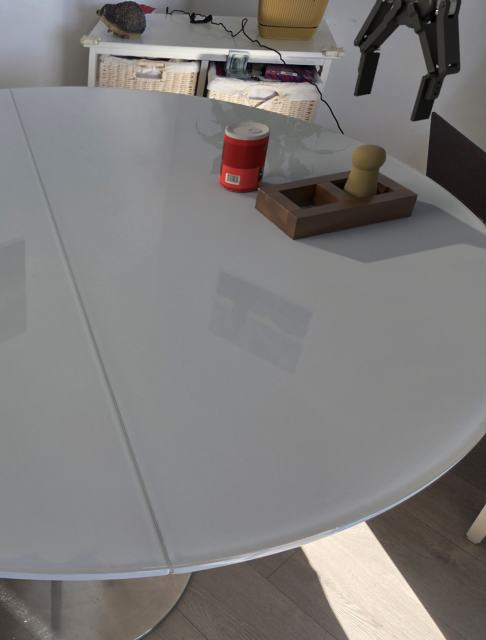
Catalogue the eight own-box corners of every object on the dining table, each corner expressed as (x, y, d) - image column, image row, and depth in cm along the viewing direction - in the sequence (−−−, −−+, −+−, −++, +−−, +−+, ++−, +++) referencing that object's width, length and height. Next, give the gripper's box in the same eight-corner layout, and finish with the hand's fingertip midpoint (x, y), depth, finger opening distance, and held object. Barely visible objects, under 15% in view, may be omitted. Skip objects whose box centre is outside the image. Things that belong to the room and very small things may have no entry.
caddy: (411, 216, 110) (418, 194, 108) (292, 239, 107) (297, 218, 104) (364, 186, 120) (370, 166, 117) (254, 207, 117) (258, 187, 114)
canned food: (266, 191, 121) (276, 134, 114) (224, 194, 122) (231, 138, 115) (254, 174, 127) (263, 119, 120) (214, 177, 127) (220, 123, 121)
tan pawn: (355, 218, 111) (372, 157, 104) (329, 204, 115) (343, 145, 109) (382, 209, 113) (399, 149, 106) (355, 196, 117) (370, 137, 110)
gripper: (349, -53, 99) (322, 89, 112) (475, -32, 79) (424, 135, 92) (392, -59, 100) (360, 82, 113) (527, -40, 80) (469, 127, 93)
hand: (389, 106), depth 103 cm, fingers open, 13 cm apart
